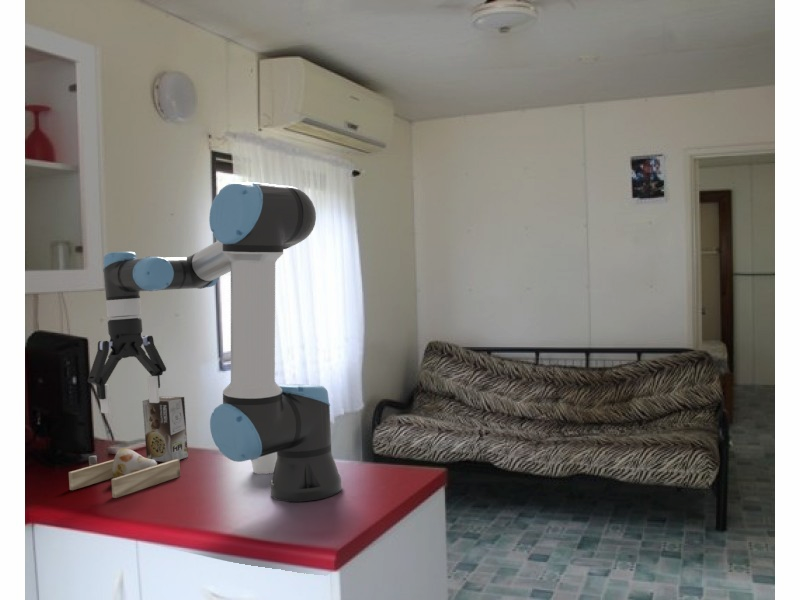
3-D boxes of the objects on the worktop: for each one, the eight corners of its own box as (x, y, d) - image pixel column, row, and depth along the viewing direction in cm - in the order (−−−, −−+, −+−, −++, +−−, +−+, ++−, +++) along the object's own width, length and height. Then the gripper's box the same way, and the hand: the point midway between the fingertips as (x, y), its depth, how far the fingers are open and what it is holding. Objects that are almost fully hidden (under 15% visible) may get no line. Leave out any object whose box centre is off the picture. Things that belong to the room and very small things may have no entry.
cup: (291, 465, 179) (289, 417, 179) (278, 475, 170) (275, 424, 170) (257, 465, 181) (254, 417, 181) (242, 475, 172) (239, 425, 172)
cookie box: (189, 456, 194) (185, 396, 193) (172, 463, 188) (168, 400, 187) (162, 455, 197) (158, 395, 197) (145, 461, 192) (141, 399, 191)
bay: (180, 476, 174) (179, 459, 174) (116, 497, 159) (114, 479, 159) (134, 469, 183) (133, 453, 183) (69, 489, 168) (68, 472, 167)
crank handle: (122, 468, 186) (120, 447, 185) (128, 469, 184) (127, 448, 184) (87, 479, 177) (85, 457, 177) (93, 480, 176) (92, 457, 176)
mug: (156, 481, 170) (126, 453, 166) (128, 498, 173) (97, 470, 170) (168, 460, 176) (139, 432, 173) (140, 476, 180) (111, 449, 176)
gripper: (156, 314, 184) (162, 398, 185) (66, 322, 163) (73, 416, 164) (177, 313, 180) (183, 399, 181) (87, 321, 159) (94, 418, 160)
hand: (131, 407), depth 172 cm, fingers open, 13 cm apart
